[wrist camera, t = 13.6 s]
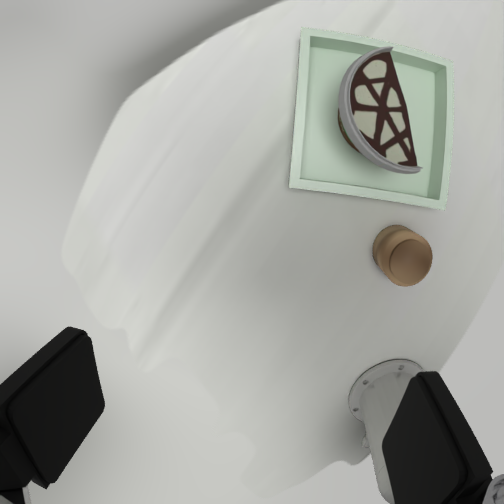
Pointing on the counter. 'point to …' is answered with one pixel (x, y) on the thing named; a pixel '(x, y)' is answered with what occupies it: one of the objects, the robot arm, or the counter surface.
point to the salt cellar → (402, 255)
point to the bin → (336, 147)
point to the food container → (377, 113)
